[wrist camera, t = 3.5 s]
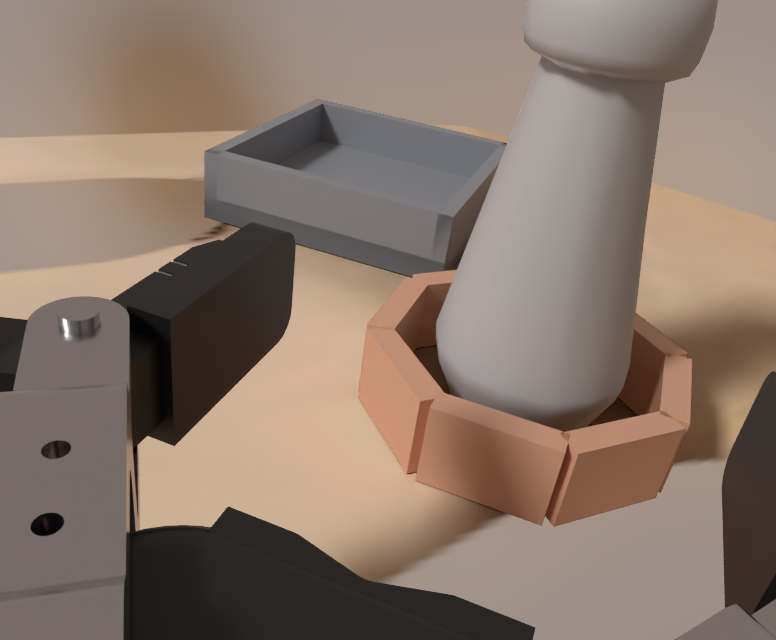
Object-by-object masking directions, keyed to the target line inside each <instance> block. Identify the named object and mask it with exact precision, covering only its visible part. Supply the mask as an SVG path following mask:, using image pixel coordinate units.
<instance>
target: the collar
mask: <svg viewBox="0 0 776 640" xmlns="http://www.w3.org/2000/svg"><path fill="white" fill-rule="evenodd" d="M456 271H457V270H450V271H440V272H429V273H419V274H413V278H410V277H406V278H405V279H404V280H403V282H402V283H401V284H400V285H399V286H398V288H397V289H396V290H395V291H394V292H393V294H392V295H391V296H390V297H389V298H388V300H387V301H386V302H385V303H384V304H383V306H382V307H381V308H380V309H379V310H378V312H377V313H376V314H375V315H374V316H373V318H372V319H371V320H370V321H369V322H368V324H367V331H366V338H365V346H364V353H363V361H362V369H361V376H360V384H359V397H358V398H359V399H360V401H361V402H362V404H363V406H364V407H365V409H366V410H367V412H368V413H369V415H370V417H371V418H372V420H373V421H374V423H375V425H376V426H377V428H378V429H379V431H380V432H381V434H382V436H383V437H384V439H385V440H386V442H387V444H388V445H389V447H390V448H391V450H392V451H393V453H394V455H395V456H396V458H397V459H398V461H399V462H400V464H401V466H402V467H403V469H404V470H405V472H406V474H408V473H412V472H417V475H416V481H419V482H422V483H424V484H427V485H430V486H433V487H436V488H438V489H441V490H444V491H447V492H449V493H452V494H455V495H458V496H460V497H463V498H466V499H469V500H472V501H474V502H477V503H480V504H483V505H485V506H488V507H491V508H494V509H497V510H499V511H502V512H505V513H508V514H510V515H513V516H516V517H519V518H522V519H524V520H527V521H530V522H533V523H536V524H538V525H542V523H543V519H544V517H545V516H546V517H547V519H548V520H549V521H550V522H551V524H552V525H553V526H557V525H561V524H564V523H568V522H572V521H575V520H579V519H582V518H586V517H589V516H593V515H597V514H600V513H604V512H607V511H611V510H614V509H618V508H622V507H625V506H629V505H632V504H636V503H639V502H643V501H646V500H650V499H654V498H656V496H657V493H658V492H661V491H662V488H663V486H664V484H665V481H666V479H667V477H668V474H669V472H670V470H671V467H672V465H673V463H674V460H675V458H676V456H677V454H678V451H679V449H680V447H681V444H682V442H683V440H684V437H685V435H686V433H687V430H688V428H689V426H690V417H691V384H692V359H689V358H687V355H688V353H687V352H686V351H685V350H683V349H682V348H681V347H679V346H678V345H677V344H675V343H674V342H673V341H672V340H670V339H669V338H668V337H666V336H665V335H664V334H663V333H661V332H660V331H659V330H657V329H656V328H655V327H653V326H652V325H651V324H650V323H648V322H647V321H646V320H644V319H643V318H642V317H641V316H639V315H638V314H637V313H636V314H635V323H634V332H633V341H632V350H631V359H630V366H629V369H628V373H627V376H626V380H625V383H624V387H623V389H622V390H621V392H620V393H619V395H618V398H619V399H621V400H622V401H623V402H624V403H625V404H626V405H627V406H628V407H629V408H630V409H631V410H632V411H633V412H635V413H636V414H637V415H638V416H635V417H631V418H626V419H622V420H617V421H613V422H608V423H603V424H599V425H594V426H590V427H585V428H580V429H576V430H571V431H567V432H563V431H560V430H557V429H554V428H551V427H548V426H544V425H541V424H538V423H535V422H532V421H529V420H526V419H523V418H520V417H517V416H514V415H511V414H508V413H505V412H502V411H498V410H495V409H492V408H489V407H486V406H483V405H480V404H477V403H474V402H471V401H468V400H465V399H462V398H459V397H456V396H452V395H449V394H446V393H444V392H443V390H442V389H441V388H440V386H439V385H438V384H437V383H436V381H435V380H434V379H433V378H432V376H431V375H430V374H429V372H428V371H427V370H426V369H425V367H424V366H423V365H422V364H421V362H420V361H419V360H418V358H417V357H416V356H415V355H414V351H415V350H416V348H419V347H426V346H433V345H437V343H436V322H437V319H438V317H439V314H440V312H441V309H442V306H443V304H444V301H445V299H446V296H447V294H448V291H449V289H450V286H451V284H452V281H453V279H454V276H455V274H456Z"/></svg>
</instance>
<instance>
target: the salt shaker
mask: <svg viewBox="0 0 776 640" xmlns="http://www.w3.org/2000/svg"><path fill="white" fill-rule="evenodd" d="M717 3H718V0H527V6H526V12H525V19H524V25H523V30H524V41H525V43H526V44H527V45H528V46H529V47H530V48H531V49H532V50H533V51H535V52H537V53H538V54H540V55H541V56H542V57H541V60H540V62H539V65H538V67H537V70H536V72H535V75H534V77H533V80H532V82H531V85H530V87H529V90H528V92H527V95H526V97H525V100H524V102H523V105H522V107H521V110H520V112H519V115H518V118H517V120H516V122H515V125H514V128H513V130H512V133H511V135H510V138H509V140H508V143H507V145H506V148H505V150H504V153H503V155H502V158H501V160H500V163H499V165H498V168H497V170H496V173H495V175H494V178H493V180H492V183H491V185H490V188H489V191H488V193H487V196H486V198H485V201H484V203H483V206H482V208H481V211H480V213H479V216H478V218H477V221H476V223H475V226H474V228H473V231H472V233H471V236H470V238H469V241H468V243H467V246H466V249H465V251H464V254H463V256H462V259H461V261H460V264H459V266H458V269H457V271H456V274H455V276H454V279H453V281H452V284H451V286H450V289H449V291H448V294H447V296H446V299H445V301H444V304H443V306H442V309H441V312H440V314H439V317H438V319H437V322H436V343H437V350H438V358H439V362H440V365H441V368H442V370H443V373H444V375H445V378H446V381H447V385H448V389H449V393H450V395H452V396H456V397H459V398H462V399H465V400H468V401H471V402H474V403H477V404H480V405H483V406H486V407H489V408H492V409H495V410H498V411H502V412H505V413H508V414H511V415H514V416H517V417H520V418H523V419H526V420H529V421H532V422H535V423H538V424H541V425H544V426H548V427H551V428H554V429H557V430H560V431H563V432H567V431H571V430H576V429H580V428H585V427H587V426H588V425H589V424H590V423H591V422H592V421H593V420H594V419H596V418H597V417H598V416H599V415H600V414H601V413H602V412H603V411H604V410H605V409H607V408H608V407H609V406H610V405H611V404H612V403H613V402H614V401H615V400H616V398H617V397H618V395H619V393H620V392H621V390H622V389H623V387H624V383H625V380H626V376H627V373H628V369H629V366H630V359H631V350H632V341H633V332H634V323H635V314H636V305H637V296H638V287H639V278H640V269H641V260H642V252H643V243H644V234H645V225H646V218H647V210H648V203H649V196H650V188H651V181H652V174H653V166H654V158H655V152H656V144H657V137H658V130H659V122H660V115H661V108H662V100H663V92H664V86H665V83H666V82H670V81H674V80H677V79H681V78H685V77H689V76H690V75H691V73H692V72H693V70H694V69H695V68H696V66H697V65H698V64H699V62H700V60H701V58H702V56H703V53H704V50H705V48H706V46H707V43H708V41H709V38H710V36H711V33H712V31H713V28H714V22H715V15H716V9H717Z"/></svg>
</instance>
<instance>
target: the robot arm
mask: <svg viewBox="0 0 776 640" xmlns="http://www.w3.org/2000/svg"><path fill="white" fill-rule="evenodd" d="M294 262H295V239H294V236H293V235H292V233H290V232H287V231H283V230H280V229H276V228H272V227H269V226H265V225H262V224H258V223H255V222H251V223H249V224H247V225H245V226H244V227H243V228H241V229H240V230H238V231H237V232H235V233H234V234H232V235H231V236H229V237H228V238H226V239H225V240H223V241H221V240H216V241H213V242H209V243H206V244H202V245H199V246H196V247H192V248H191V249H189V250H188V251H186V252H185V253H183V254H181V255H180V256H178V257H177V258H175V259H174V261H173V263H172V262H169V263H168V264H166V265H164V266H163V267H161V268H160V269H159V271H158V273H157V272H154V273H152V274H151V275H149V276H147V277H146V278H144V279H143V280H141V281H140V282H138V283H137V284H135V285H134V286H132V287H130V288H129V289H127V290H126V291H124V292H123V293H121V294H120V295H118V296H117V297H115V298H113V299H112V300H108V299H104V298H99V297H71V298H65V299H61V300H57V301H54V302H51V303H48V304H46V305H44V306H42V307H40V308H39V309H37V310H36V311H35V312H34V313H32V314H31V316H30V317H29V319H28V320H22V319H13V318H4V317H0V640H532V639H533V635H534V631H535V627H532V626H530V625H527V624H525V623H522V622H520V621H517V620H515V619H512V618H509V617H507V616H504V615H502V614H499V613H497V612H494V611H491V610H489V609H487V608H484V607H481V606H479V605H477V604H474V603H471V602H469V601H466V600H464V599H461V598H459V597H456V596H453V595H448V594H442V593H436V592H430V591H424V590H418V589H412V588H406V587H400V586H395V585H389V584H383V583H377V582H372V581H368V580H365V579H363V578H361V577H359V576H358V575H356V574H355V573H353V572H352V571H350V570H349V569H347V568H346V567H345V566H343V565H342V564H340V563H339V562H337V561H336V560H334V559H333V558H332V557H330V556H329V555H327V554H326V553H324V552H323V551H321V550H320V549H319V548H317V547H316V546H314V545H313V544H311V543H310V542H308V541H307V540H306V539H304V538H303V537H301V536H300V535H298V534H296V533H294V532H291V531H289V530H286V529H284V528H281V527H279V526H276V525H274V524H271V523H269V522H266V521H264V520H261V519H258V518H256V517H253V516H251V515H248V514H246V513H243V512H241V511H238V510H236V509H233V508H231V507H227V509H226V510H225V511H224V512H223V513H222V515H221V516H220V517H219V518H218V520H217V521H216V522H215V523H214V525H213V526H212V527H204V526H188V525H179V526H163V527H155V528H148V529H143V530H140V501H139V453H138V444H139V443H140V442H141V441H142V440H143V439H144V438H145V437H146V436H150V437H152V438H155V439H158V440H160V441H163V442H165V443H168V444H171V445H173V446H175V445H176V444H177V443H178V442H179V441H180V440H181V439H182V438H183V437H184V436H185V435H186V434H187V433H188V432H189V431H190V430H191V429H192V428H193V427H194V426H195V425H196V424H197V423H198V422H199V421H200V420H201V419H202V418H203V417H204V416H205V415H206V414H207V413H208V412H209V411H210V410H211V409H212V408H213V407H214V406H215V405H216V404H217V403H218V402H219V401H220V400H221V399H222V398H223V397H224V396H225V395H226V394H227V393H228V392H229V391H230V390H231V389H232V388H233V387H234V386H235V385H236V384H237V383H238V382H239V381H240V380H241V379H242V378H243V377H244V376H245V375H246V374H247V373H248V372H249V371H250V370H251V369H252V368H253V367H254V366H255V365H256V364H257V363H258V362H259V361H260V360H261V359H262V358H263V357H264V356H265V355H266V354H267V353H268V352H269V351H270V350H271V349H272V348H273V347H274V346H275V345H276V344H277V343H278V342H279V341H280V339H281V338H282V336H283V335H284V333H285V331H286V328H287V326H288V323H289V319H290V315H291V308H292V293H293V278H294ZM722 508H723V509H722V510H723V548H724V585H725V609H723V610H721V611H720V612H718V613H717V614H715V615H713V616H712V617H710V618H709V619H707V620H705V621H704V622H702V623H701V624H699V625H697V626H696V627H694V628H693V629H691V630H690V631H688V632H686V633H684V634H683V635H681V636H680V637H678V638H676V639H675V640H776V372H771V373H770V374H769V375H768V376H767V378H766V379H765V381H764V383H763V385H762V387H761V389H760V391H759V393H758V395H757V397H756V399H755V401H754V403H753V405H752V407H751V410H750V412H749V414H748V416H747V418H746V420H745V422H744V424H743V426H742V428H741V430H740V433H739V435H738V437H737V439H736V441H735V443H734V445H733V447H732V449H731V452H730V454H729V457H728V460H727V463H726V467H725V471H724V475H723V482H722Z"/></svg>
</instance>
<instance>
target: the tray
mask: <svg viewBox="0 0 776 640" xmlns="http://www.w3.org/2000/svg"><path fill="white" fill-rule="evenodd" d="M506 145H507V143H503V142H499V141H495V140H491V139H486V138H482V137H478V136H474V135H469V134H465V133H461V132H457V131H452V130H448V129H444V128H439V127H435V126H431V125H427V124H422V123H418V122H414V121H409V120H405V119H401V118H397V117H393V116H388V115H384V114H380V113H375V112H371V111H367V110H363V109H358V108H354V107H350V106H346V105H341V104H337V103H333V102H328V101H324V100H320V99H316V100H314V101H312V102H310V103H308V104H305V105H303V106H301V107H299V108H297V109H295V110H293V111H291V112H288V113H286V114H284V115H282V116H280V117H277V118H275V119H273V120H271V121H269V122H267V123H264V124H262V125H260V126H258V127H256V128H254V129H252V130H249V131H247V132H245V133H243V134H241V135H239V136H236V137H234V138H232V139H230V140H228V141H226V142H223V143H221V144H219V145H217V146H215V147H213V148H211V149H208V150H206V151H204V163H205V217H206V218H209V219H213V220H216V221H220V222H223V223H227V224H230V225H234V226H237V227H240V228H243V227H244V226H245V225H247V224H249V223H251V222H255V223H258V224H262V225H265V226H269V227H272V228H276V229H280V230H283V231H287V232H290V233H292V235H293V236H294V239H295V243H296V244H299V245H303V246H306V247H310V248H313V249H317V250H320V251H323V252H327V253H330V254H334V255H337V256H341V257H344V258H348V259H351V260H355V261H358V262H362V263H365V264H368V265H372V266H375V267H379V268H382V269H386V270H389V271H393V272H396V273H400V274H403V275H407V276H410V277H413V274H419V273H429V272H440V271H450V270H452V269H453V267H454V266H455V265H456V263H457V262H458V261H459V259H460V258H461V256H462V255H463V254H464V251H465V249H466V246H467V243H468V241H469V238H470V236H471V233H472V231H473V228H474V226H475V223H476V221H477V218H478V216H479V213H480V211H481V208H482V206H483V203H484V201H485V198H486V196H487V193H488V191H489V188H490V185H491V183H492V180H493V178H494V175H495V173H496V170H497V168H498V165H499V163H500V160H501V158H502V155H503V153H504V150H505V148H506Z"/></svg>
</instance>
